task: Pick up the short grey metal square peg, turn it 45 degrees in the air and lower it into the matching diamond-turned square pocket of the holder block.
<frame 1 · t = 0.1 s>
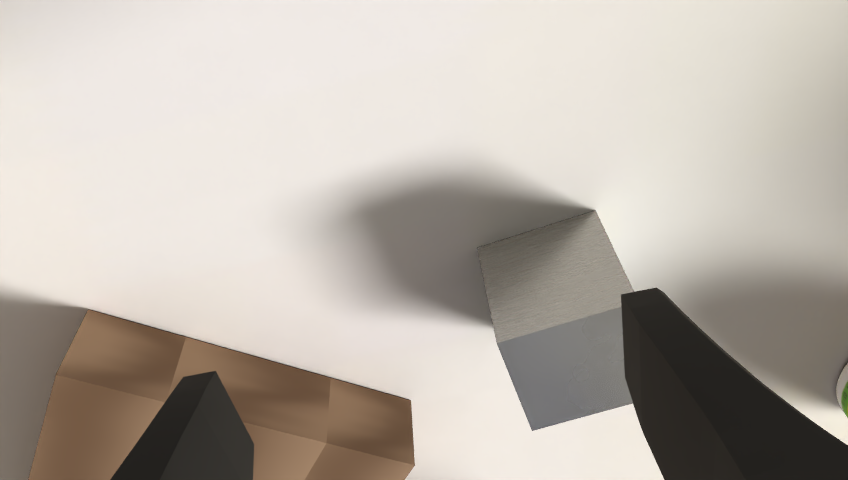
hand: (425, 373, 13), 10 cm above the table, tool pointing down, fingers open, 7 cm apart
peg: (549, 273, 24), on the table
holder: (213, 457, 29), on the table
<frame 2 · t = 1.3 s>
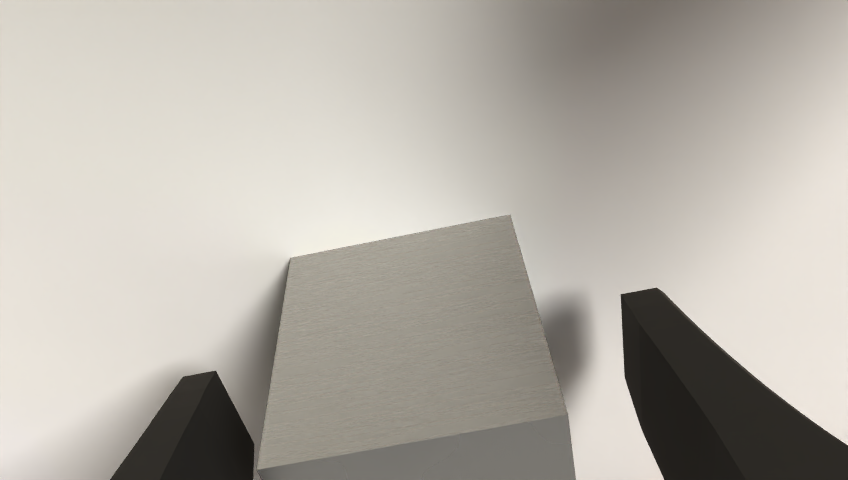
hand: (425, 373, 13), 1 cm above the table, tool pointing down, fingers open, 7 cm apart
peg: (421, 316, 14), on the table
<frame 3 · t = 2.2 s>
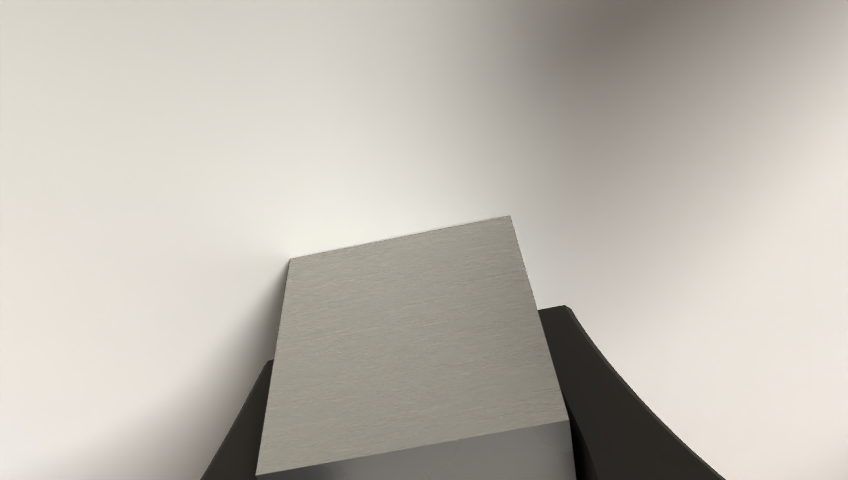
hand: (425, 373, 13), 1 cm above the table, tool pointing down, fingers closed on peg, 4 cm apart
peg: (421, 319, 14), on the table, touching gripper
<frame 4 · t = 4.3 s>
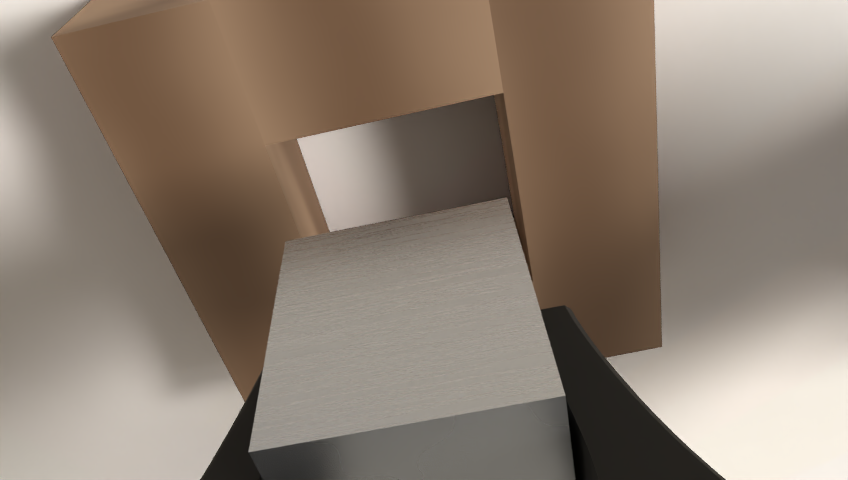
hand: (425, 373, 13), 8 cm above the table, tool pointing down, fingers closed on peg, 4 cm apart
peg: (417, 303, 14), point 7 cm above the table, touching gripper
holder: (405, 159, 20), on the table
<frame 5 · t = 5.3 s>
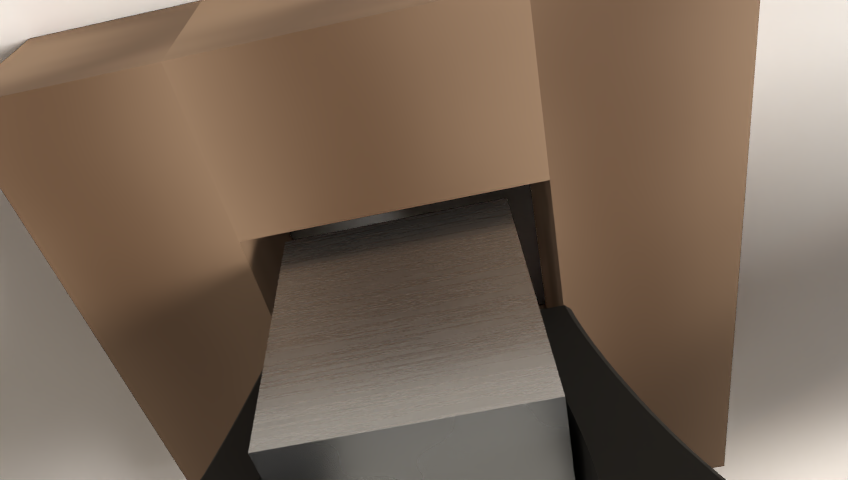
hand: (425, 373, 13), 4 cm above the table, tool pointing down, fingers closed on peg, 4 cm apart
peg: (417, 304, 14), point 3 cm above the table, touching gripper
holder: (415, 237, 16), on the table
when the fingers open (3 cm above the table, at t = 6.3 s): peg drops 2 cm, resting in holder.
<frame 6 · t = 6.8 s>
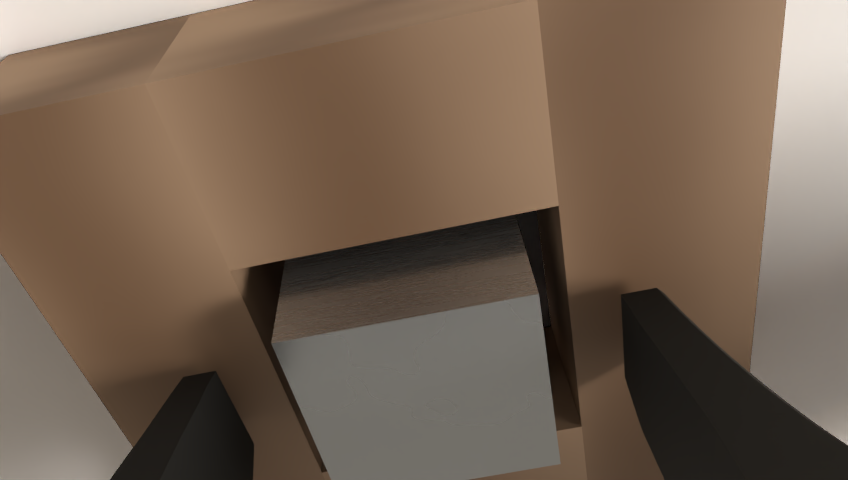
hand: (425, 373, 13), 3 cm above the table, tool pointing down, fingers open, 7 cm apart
peg: (415, 244, 15), resting in holder
holder: (416, 258, 15), on the table
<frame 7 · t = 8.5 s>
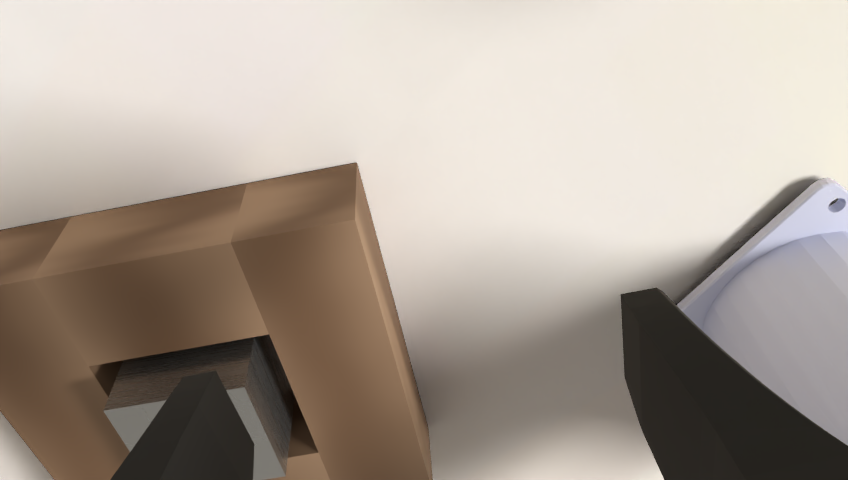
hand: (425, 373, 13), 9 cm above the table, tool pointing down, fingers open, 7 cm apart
peg: (225, 336, 24), resting in holder
holder: (226, 345, 24), on the table
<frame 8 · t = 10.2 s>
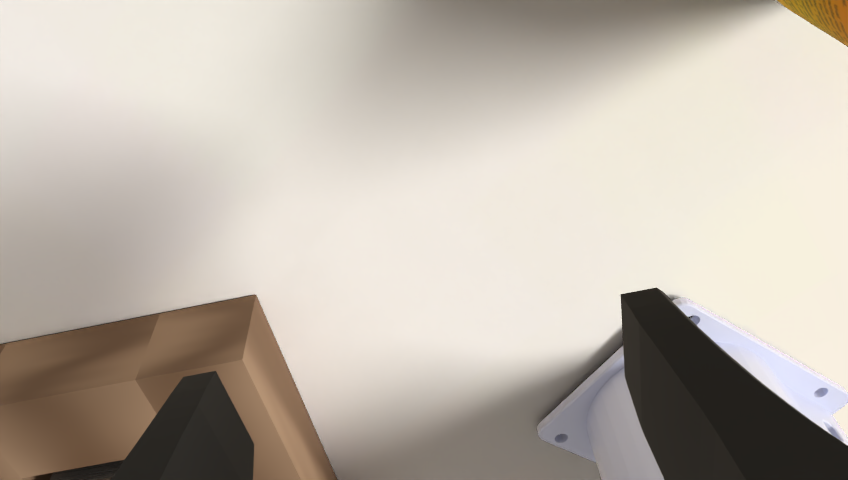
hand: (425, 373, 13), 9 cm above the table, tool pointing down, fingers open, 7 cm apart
peg: (155, 434, 27), resting in holder
holder: (156, 442, 27), on the table
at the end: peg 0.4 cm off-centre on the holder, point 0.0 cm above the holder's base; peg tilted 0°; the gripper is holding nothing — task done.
